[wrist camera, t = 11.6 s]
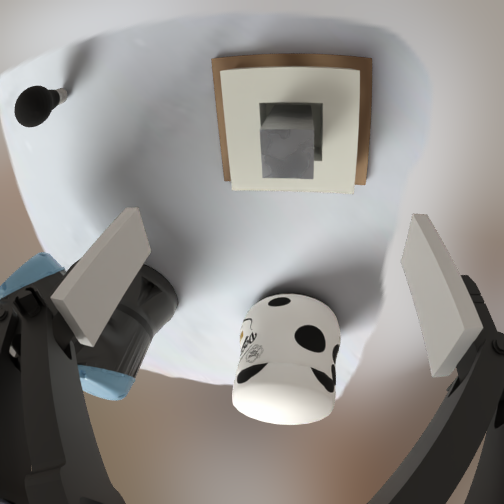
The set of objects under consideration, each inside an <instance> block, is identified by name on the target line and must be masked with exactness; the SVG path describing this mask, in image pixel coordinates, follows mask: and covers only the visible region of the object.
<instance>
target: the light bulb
mask: <svg viewBox="0 0 504 504" xmlns="http://www.w3.org/2000/svg"><path fill="white" fill-rule="evenodd" d="M66 99H67V92H66V90H65V89H63V88H60V89H57V90H48V89H46V88H45V87H42V86H32V87H30V88H27V89H26V90H25V91H23V92H22V93H21V94H20V96H19V97H18V99H17V101H16V104H15V117H16V119H17V121H18V122H19V123H20V124H21V125H23V126H25V127H35V126H38V125H40V124H41V123H43V122H44V121H45V120H46V119H47V118H48V116H49V115H50V113H51V110H53V109H54V108H55V107H56V106H58V105H59V104H62V103H64V102H65V101H66Z"/></svg>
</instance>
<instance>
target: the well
mask: <svg viewBox="0 0 504 504" xmlns="http://www.w3.org/2000/svg"><path fill="white" fill-rule="evenodd" d="M220 77H221V87H222V98H223V108H224V118H225V128H226V137H227V147H228V157H229V166H230V175H231V185H232V191H295V192H322V193H342V194H354V185H355V174H356V161H357V147H358V129H359V102H360V71H359V70H355V69H351V68H338V67H319V66H265V67H246V68H233V69H228V70H223V71H220ZM274 105H311V110H312V117H313V125H314V179H290V178H262V161H261V144H260V128H261V126H262V125H263V123H264V121H265V120H266V118H267V116H268V115H269V113H270V112H271V110H272V108H273V107H274Z"/></svg>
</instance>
